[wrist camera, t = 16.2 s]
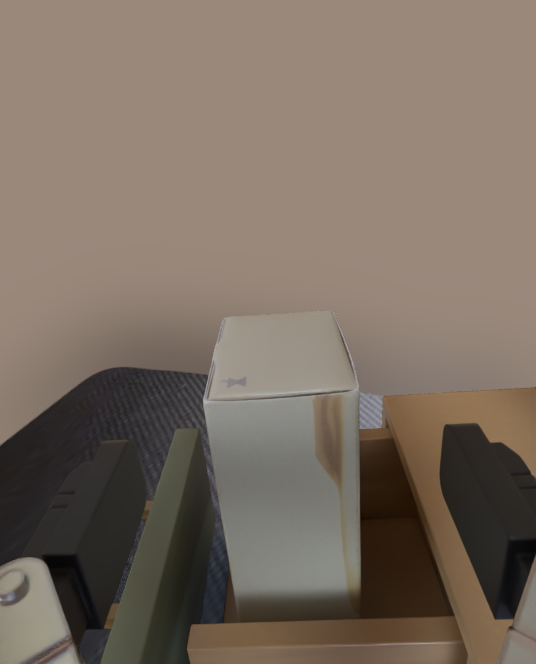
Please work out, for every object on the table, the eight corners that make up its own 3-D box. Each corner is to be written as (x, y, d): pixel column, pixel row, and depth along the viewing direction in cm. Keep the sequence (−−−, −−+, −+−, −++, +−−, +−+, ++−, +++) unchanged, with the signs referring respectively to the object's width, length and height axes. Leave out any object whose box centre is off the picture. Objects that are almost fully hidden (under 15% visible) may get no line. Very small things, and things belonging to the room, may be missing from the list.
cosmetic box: (365, 684, 17) (368, 396, 12) (245, 689, 17) (197, 407, 12) (341, 538, 23) (336, 302, 18) (251, 543, 23) (221, 311, 18)
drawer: (1, 785, 16) (-68, 675, 14) (108, 524, 26) (80, 433, 24) (519, 777, 15) (551, 659, 13) (423, 510, 25) (430, 414, 23)
